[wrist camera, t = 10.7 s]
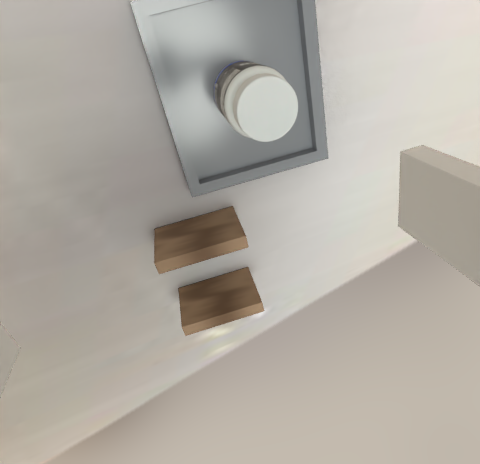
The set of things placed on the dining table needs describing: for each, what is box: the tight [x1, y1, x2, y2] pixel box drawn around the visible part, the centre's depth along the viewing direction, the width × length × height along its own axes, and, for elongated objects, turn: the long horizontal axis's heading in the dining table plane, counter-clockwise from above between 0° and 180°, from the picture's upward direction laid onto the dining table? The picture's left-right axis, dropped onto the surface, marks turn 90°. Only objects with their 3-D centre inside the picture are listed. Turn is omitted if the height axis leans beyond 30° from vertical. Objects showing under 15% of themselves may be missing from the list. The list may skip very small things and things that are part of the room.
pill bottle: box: [214, 61, 298, 142], centre depth 25 cm, size 5×5×8 cm
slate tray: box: [130, 0, 328, 197], centre depth 29 cm, size 13×15×2 cm
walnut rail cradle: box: [154, 206, 264, 336], centre depth 34 cm, size 8×9×6 cm
